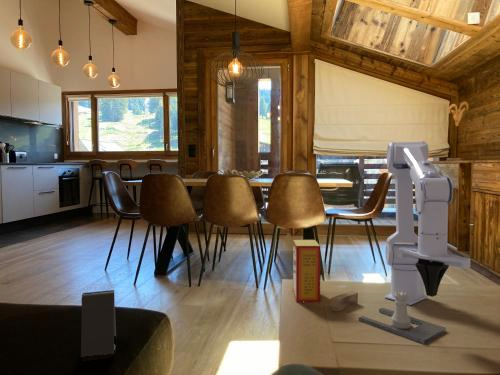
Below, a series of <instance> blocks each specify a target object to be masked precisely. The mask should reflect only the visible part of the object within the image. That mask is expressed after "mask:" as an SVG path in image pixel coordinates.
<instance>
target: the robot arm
mask: <svg viewBox="0 0 500 375" xmlns="http://www.w3.org/2000/svg"><path fill="white" fill-rule="evenodd" d="M429 151H430V150H429V145H428V144H427V142H426V141H424V140H422V141H403V142H402V141H399V142H397V141H396V142H393V141H390V142H389V143H388V145H387V148H386V169H387V173H390V174H392V175H393V179H394V187H395V188H394V189H395V190H394V194H395V195H394V196H395V228H396V229H395V230H396V231H395V232H394V233H393V234H391V235H389V236H388V237H387V239H386V241H385V252H384V253H385V254H384V255H385V262H386V264H387V265H388V266H390V267H391V268H390V270H391V271H390V293H388V294H386V295H384V298H385V299H389V300H392V301H394V302H395V301H396V298H395V297H394V294H395V293H396V291H398V290H400V292H402V291H405V292H407V295H408V296H409V298H408V299H407V303H408V304H407V305H410V306H411V305H412V306H413V305H414V304H417V303H418V302H421V301H423V300H426V299H428V297H432V298H433V297H436V296H437V295H438V291H439V287H440V284H441V282H442V279H443V277H444V275H445V274H446V272H447V270H448V269H449V266H451V267H457V268H460V269H463V270H468V269H470V268H471V258H469V257H464V256H460V255H456V254H452V253H448V235H449V234H448V232H449V230H448V228H449V227H448V226H449V222H448V221H449V219H448V218H449V205H450V204H451V203H452V200H453V197H454V185H453V182H452V179H451V177H450V176H442V175H441V174H440V172H439V171H438V169H437V167H436V166H435V164H434V163H433V162H431V161H430V160H428V159H429V155H430V154H429ZM414 186H415V187H414ZM414 195H415V202H416V204H415V205H416V211H417V212H418V216H417V217H418V219H417V220H418V221H417V223H418V226H417V227H418V228H417V234H416V232H415V223H414V222H415V221H414V219H415V218H414V217H415V216H414ZM408 243H409V244H408ZM411 243H413V244H411ZM425 294H426V295H425Z"/></svg>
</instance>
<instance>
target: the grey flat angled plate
mask: <svg viewBox="0 0 500 375" xmlns="http://www.w3.org/2000/svg"><path fill="white" fill-rule="evenodd" d="M394 312H395V310H394V311H393V310H390V309H387V308H385V307H380V308H379V309H378V313H381V314H384V315H387V316H389V317H392V316H393V314H394ZM408 316H409V318H410V320H411V322H410V324H411V323H412V324H415V325H417V326H416V327H414V328H412V329H409V331H407V330H405V329H398V328H396V327H393V326H392V325H390V324H387V323H384V322H381V321H379V320H376V319H373V318H369V317H367V316H364V315H360V316H359V317H358V321H359V322H362V323H365V324H367V325H370V326H373V327H375V328H378V329H381V330H384V331H386V332H389V333H393V334H395V335H398V336H401V337H402V338H406V339H408V340H411V341H415V342H416V343H420V344H422V345H426V344H427V343H429V342H430V341H432V340H435V339H436V338H437V337H439V336H440V335H443V334H444V333H446V332H447V327H446V326H445V327H444V326H443V325H442V326H441V325H438V324H435V323H432V322H429V321H425V320H423V319H420V318H416V317H413V316H410V315H408Z"/></svg>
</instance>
